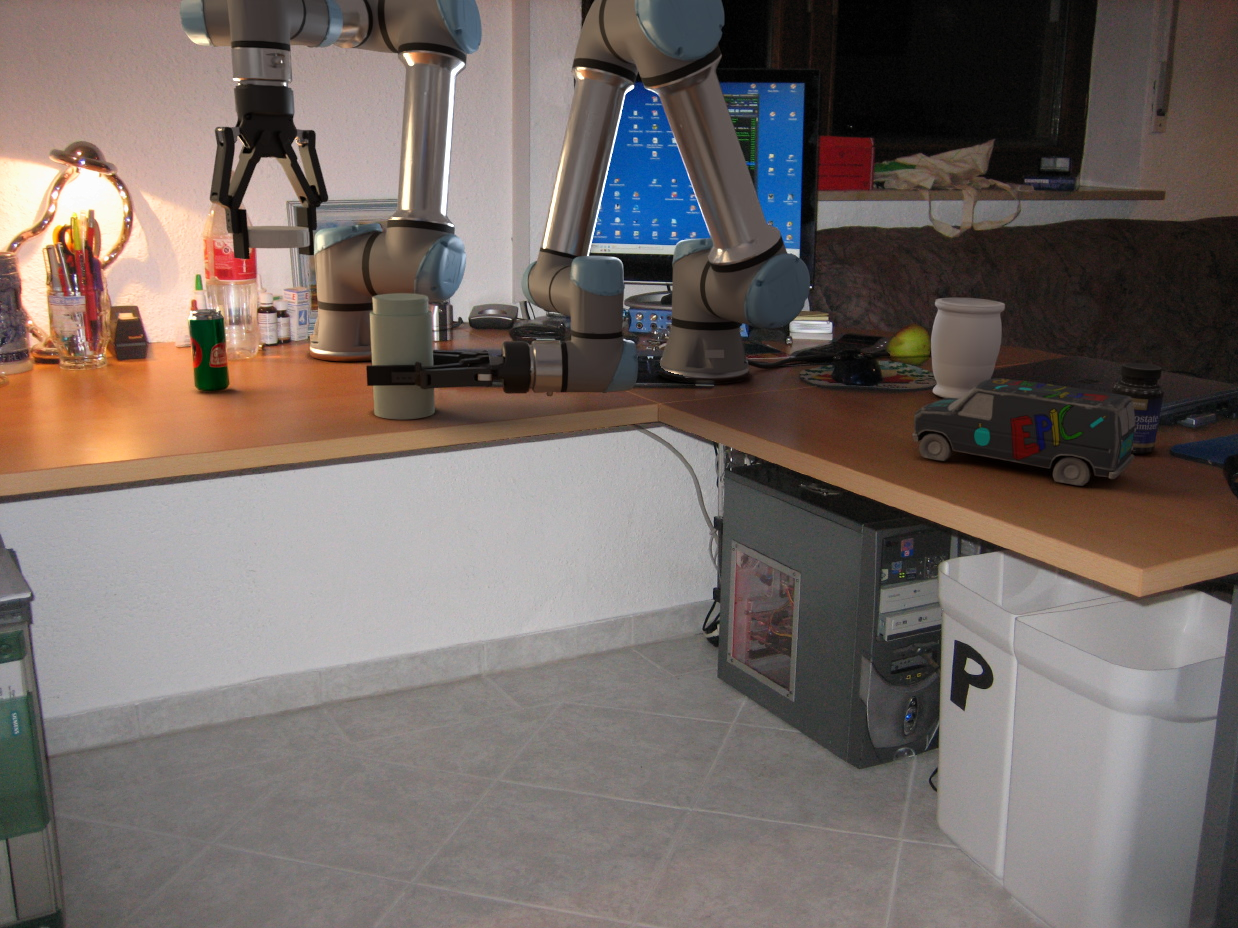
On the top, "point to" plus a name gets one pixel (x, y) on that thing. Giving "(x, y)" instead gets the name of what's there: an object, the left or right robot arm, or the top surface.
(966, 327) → the jar
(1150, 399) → the pill bottle
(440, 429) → the top surface
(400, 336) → the screw-top jar
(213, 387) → the soda can
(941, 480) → the top surface
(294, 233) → the lid
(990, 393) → the toy van
